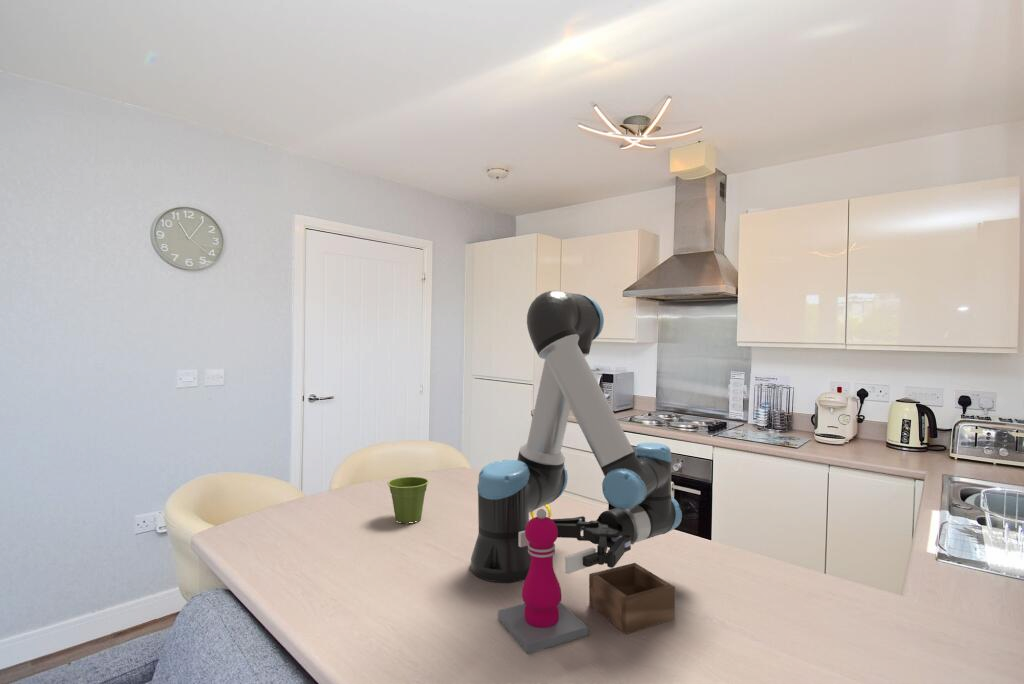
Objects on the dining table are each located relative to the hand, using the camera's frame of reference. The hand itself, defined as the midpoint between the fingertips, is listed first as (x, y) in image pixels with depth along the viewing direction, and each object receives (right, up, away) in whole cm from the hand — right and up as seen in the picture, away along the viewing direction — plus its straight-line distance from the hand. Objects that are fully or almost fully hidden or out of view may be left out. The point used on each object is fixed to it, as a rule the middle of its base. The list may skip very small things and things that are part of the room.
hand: (541, 551), depth 92 cm
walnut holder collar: (+18, -14, +6) cm, 23 cm away
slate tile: (0, -14, +1) cm, 14 cm away
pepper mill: (0, -13, +1) cm, 13 cm away
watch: (+3, -14, +54) cm, 56 cm away
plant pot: (-36, -14, +56) cm, 67 cm away
